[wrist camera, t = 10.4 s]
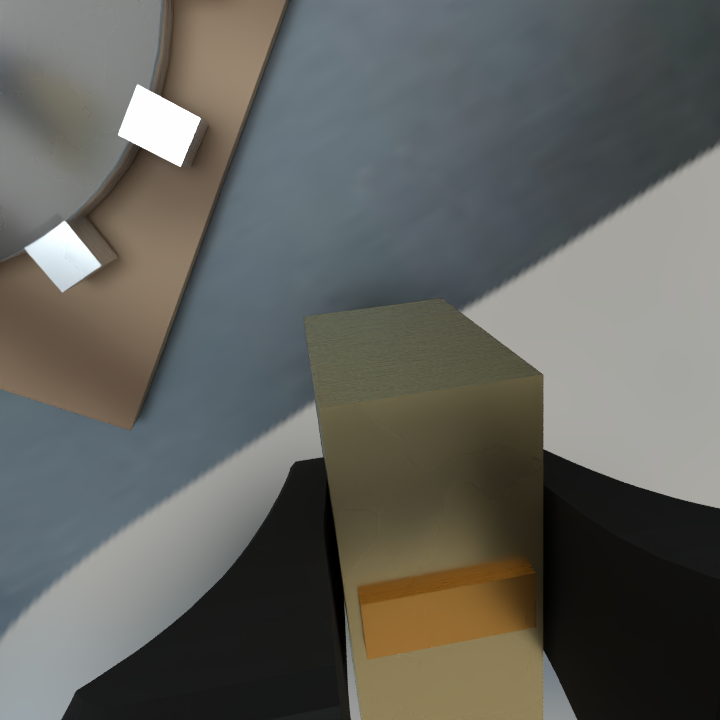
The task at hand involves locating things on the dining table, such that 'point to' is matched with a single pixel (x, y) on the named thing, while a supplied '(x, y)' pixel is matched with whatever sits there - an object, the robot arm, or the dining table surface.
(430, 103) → the dining table surface
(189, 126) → the sprocket
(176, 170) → the sprocket base
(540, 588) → the yellow block
